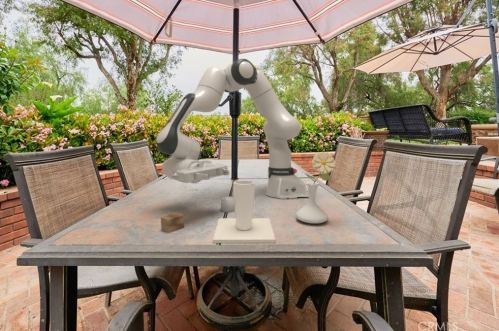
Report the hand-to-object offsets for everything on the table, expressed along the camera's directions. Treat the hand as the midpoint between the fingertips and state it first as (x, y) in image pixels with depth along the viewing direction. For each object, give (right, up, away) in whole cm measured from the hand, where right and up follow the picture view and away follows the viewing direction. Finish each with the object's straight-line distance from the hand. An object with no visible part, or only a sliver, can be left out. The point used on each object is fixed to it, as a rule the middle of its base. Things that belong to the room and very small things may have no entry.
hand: (218, 174), depth 87 cm
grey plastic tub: (+2, -15, +16) cm, 22 cm away
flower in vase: (+34, -17, +4) cm, 38 cm away
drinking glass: (+9, -17, -6) cm, 20 cm away
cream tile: (+9, -18, -5) cm, 21 cm away
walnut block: (-15, -18, -4) cm, 23 cm away
